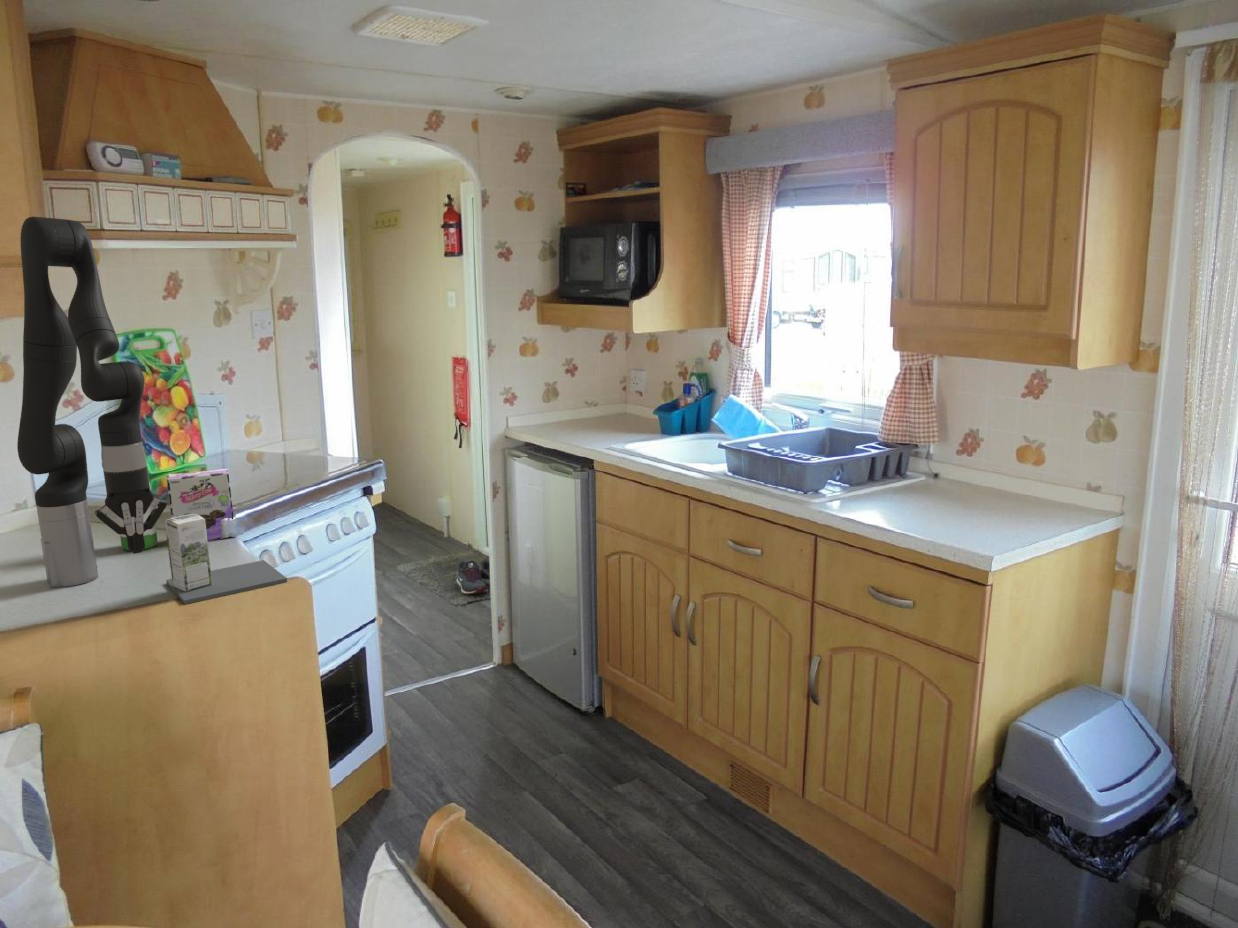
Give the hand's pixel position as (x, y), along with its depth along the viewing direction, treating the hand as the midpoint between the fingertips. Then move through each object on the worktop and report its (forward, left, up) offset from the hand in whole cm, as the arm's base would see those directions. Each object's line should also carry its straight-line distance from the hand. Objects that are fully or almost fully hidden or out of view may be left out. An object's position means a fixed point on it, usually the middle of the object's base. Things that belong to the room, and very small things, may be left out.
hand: (137, 552), depth 185 cm
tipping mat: (+16, 0, -10) cm, 19 cm away
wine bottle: (+7, +41, -10) cm, 43 cm away
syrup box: (+9, 0, -9) cm, 13 cm away
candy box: (+21, +38, -10) cm, 45 cm away
